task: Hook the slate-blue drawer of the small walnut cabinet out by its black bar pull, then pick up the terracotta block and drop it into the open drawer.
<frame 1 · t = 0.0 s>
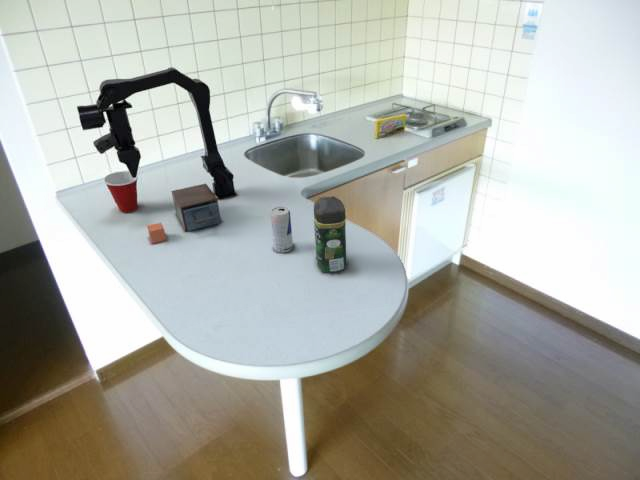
hand: (132, 172, 148), 15 cm above the worktop, tool pointing down, fingers open, 9 cm apart
energy drink: (283, 248, 133), on the worktop
candy box: (389, 135, 214), on the worktop
drawer: (199, 212, 145), point 4 cm above the worktop, slide at 0.5 cm
cabinet: (198, 218, 151), on the worktop
block: (158, 239, 141), on the worktop
plastic cup: (129, 209, 159), on the worktop
coffee jar: (331, 264, 125), on the worktop
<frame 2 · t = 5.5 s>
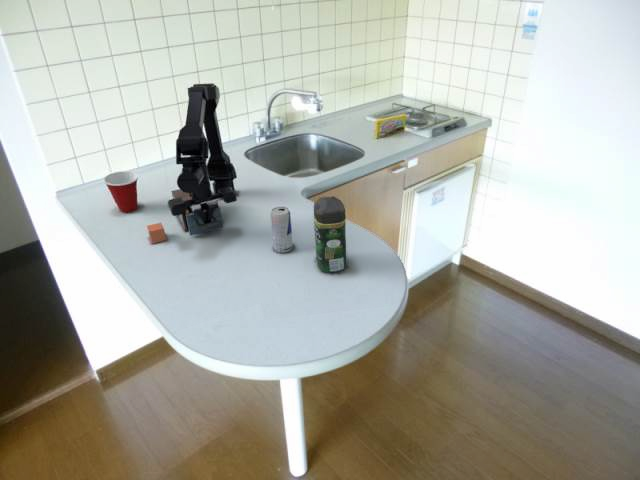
hand: (207, 226, 138), 4 cm above the worktop, tool pointing down, fingers closed, pressing on drawer
drawer: (202, 216, 143), point 4 cm above the worktop, slide at 3.8 cm, touching gripper
everything else where it was.
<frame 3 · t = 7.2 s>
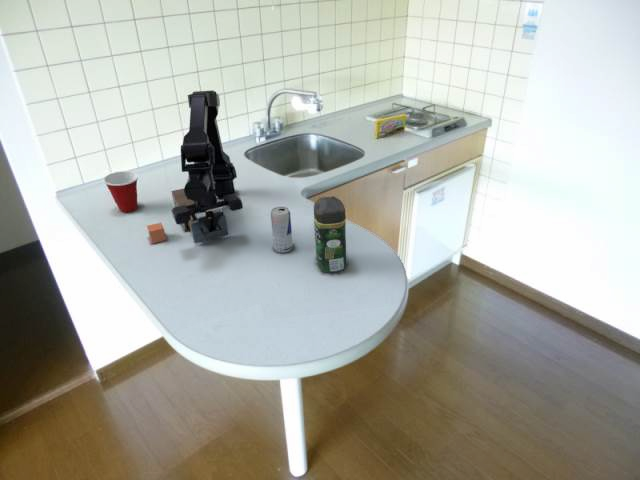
hand: (212, 234, 134), 4 cm above the worktop, tool pointing down, fingers closed, pressing on drawer
drawer: (206, 223, 139), point 4 cm above the worktop, slide at 9.1 cm, touching gripper
everything else where it was.
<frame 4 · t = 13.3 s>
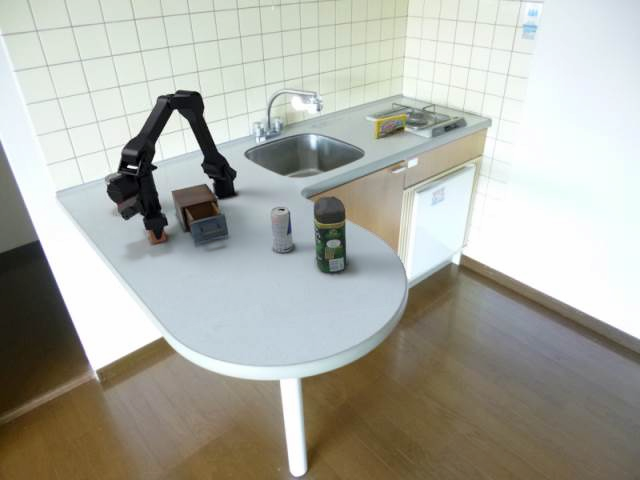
hand: (157, 236, 140), 1 cm above the worktop, tool pointing down, fingers closed on block, 4 cm apart
drawer: (206, 223, 139), point 4 cm above the worktop, slide at 9.1 cm
block: (158, 239, 141), on the worktop, touching gripper
everything else where it was.
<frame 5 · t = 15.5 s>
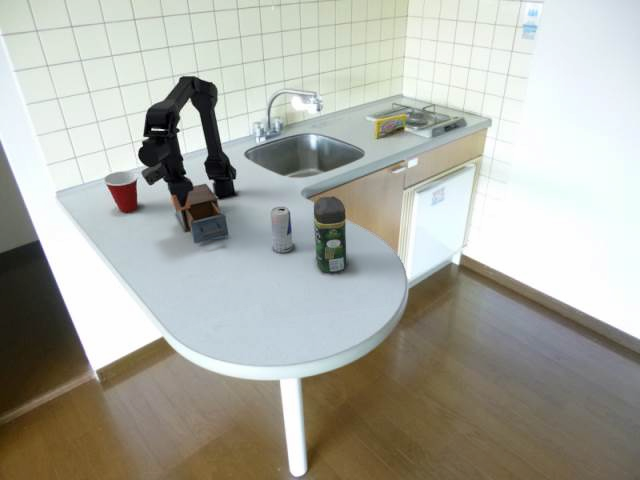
hand: (181, 203, 136), 11 cm above the worktop, tool pointing down, fingers closed on block, 4 cm apart
block: (181, 206, 137), point 10 cm above the worktop, touching gripper
everything else where it was.
when the fingers open (5 cm above the worktop, at t = 18.1 s): block drops 2 cm, resting on drawer.
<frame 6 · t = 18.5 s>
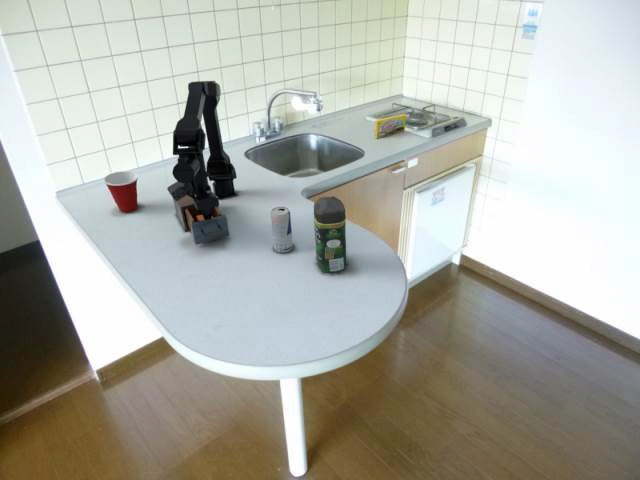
hand: (204, 218, 139), 5 cm above the worktop, tool pointing down, fingers open, 7 cm apart
drawer: (207, 225, 138), point 4 cm above the worktop, slide at 10.0 cm, touching block
block: (207, 229, 141), point 2 cm above the worktop, touching drawer
everything else where it was.
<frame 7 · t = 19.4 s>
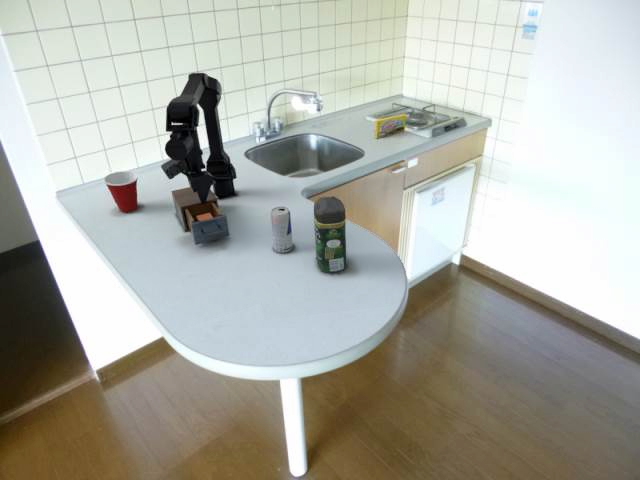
hand: (199, 197, 137), 12 cm above the worktop, tool pointing down, fingers open, 9 cm apart
nothing on the worktop moved.
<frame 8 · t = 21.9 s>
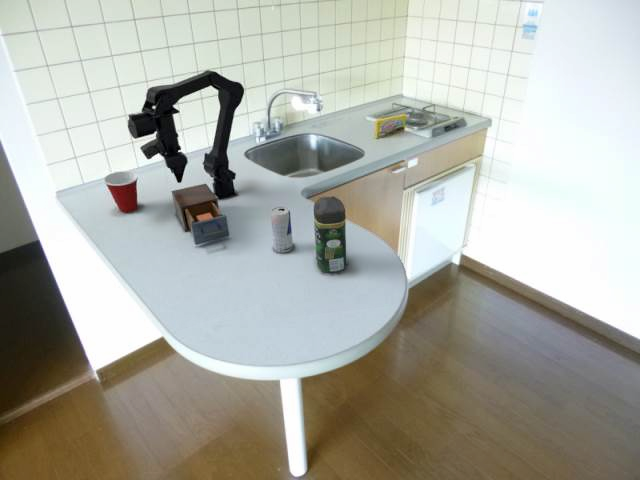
hand: (176, 177, 150), 12 cm above the worktop, tool pointing down, fingers open, 9 cm apart
nothing on the worktop moved.
at the end: drawer slide at 10.0 cm; block inside the target area in the drawer (0.8 cm from its centre), point 1.9 cm above the cabinet's base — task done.
